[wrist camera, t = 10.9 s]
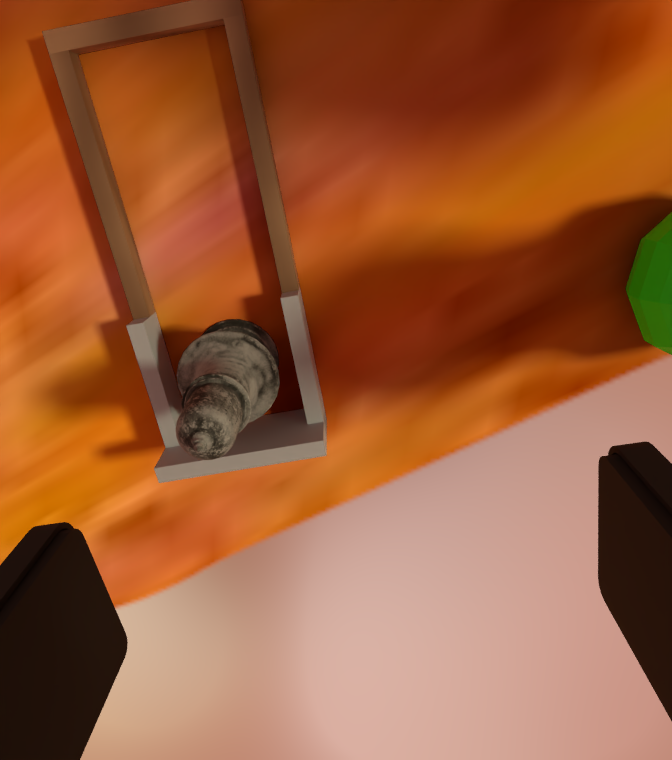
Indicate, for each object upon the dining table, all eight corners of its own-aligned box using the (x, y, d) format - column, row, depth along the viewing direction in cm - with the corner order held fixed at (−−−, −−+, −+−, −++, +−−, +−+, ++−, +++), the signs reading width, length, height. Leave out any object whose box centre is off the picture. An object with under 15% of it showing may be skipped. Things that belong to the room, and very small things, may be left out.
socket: (299, 286, 34) (295, 305, 29) (326, 418, 37) (326, 455, 32) (139, 314, 34) (110, 338, 29) (179, 443, 37) (159, 482, 33)
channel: (241, -3, 28) (237, -9, 27) (299, 286, 34) (298, 290, 33) (52, 36, 29) (41, 31, 28) (139, 314, 34) (133, 319, 33)
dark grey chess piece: (273, 307, 34) (249, 377, 23) (291, 394, 36) (277, 497, 25) (179, 322, 34) (111, 399, 23) (202, 408, 36) (150, 516, 25)
